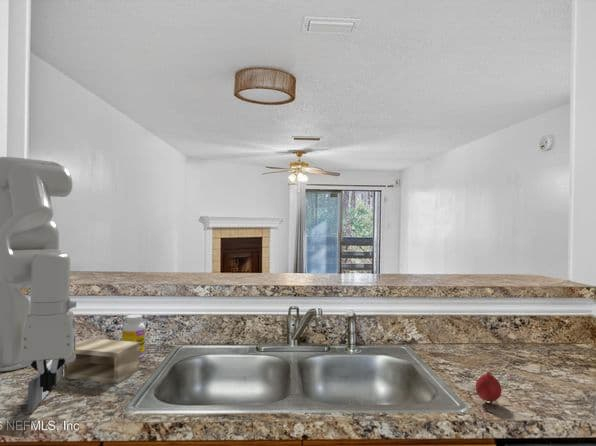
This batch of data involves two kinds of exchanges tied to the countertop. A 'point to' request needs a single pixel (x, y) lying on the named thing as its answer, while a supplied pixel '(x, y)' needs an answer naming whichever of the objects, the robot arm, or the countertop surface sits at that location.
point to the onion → (488, 387)
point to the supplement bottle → (134, 331)
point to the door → (39, 389)
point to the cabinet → (103, 360)
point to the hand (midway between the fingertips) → (48, 389)
